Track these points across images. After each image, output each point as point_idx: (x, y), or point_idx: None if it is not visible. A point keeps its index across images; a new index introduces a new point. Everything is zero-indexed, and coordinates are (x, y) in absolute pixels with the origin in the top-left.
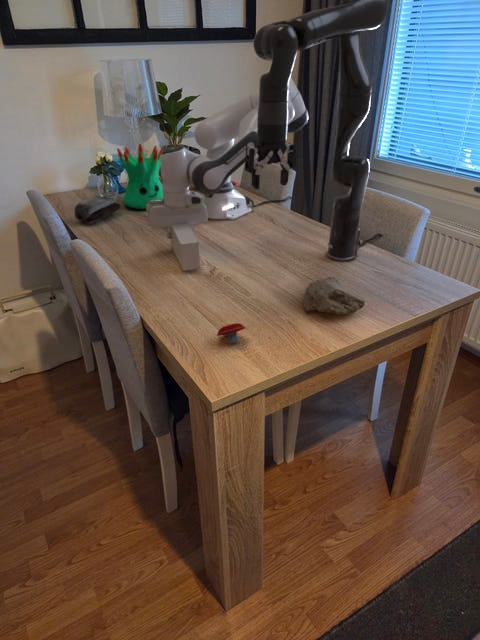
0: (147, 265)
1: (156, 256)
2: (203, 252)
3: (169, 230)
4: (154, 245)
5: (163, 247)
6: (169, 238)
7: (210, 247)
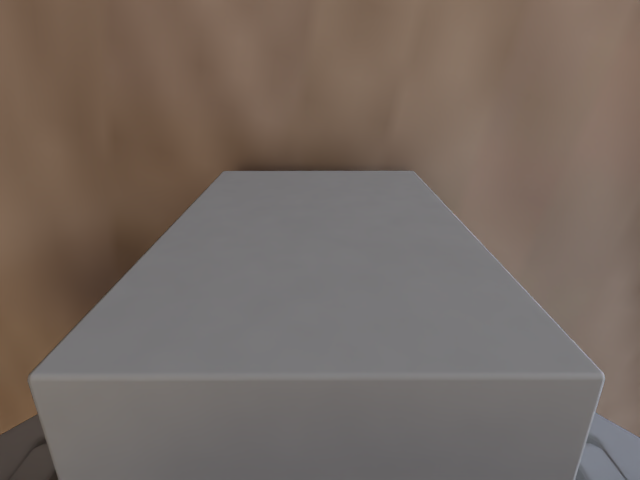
0: None
1: None
2: None
3: (164, 241)
4: (34, 45)
5: (147, 143)
6: None
7: (624, 280)
